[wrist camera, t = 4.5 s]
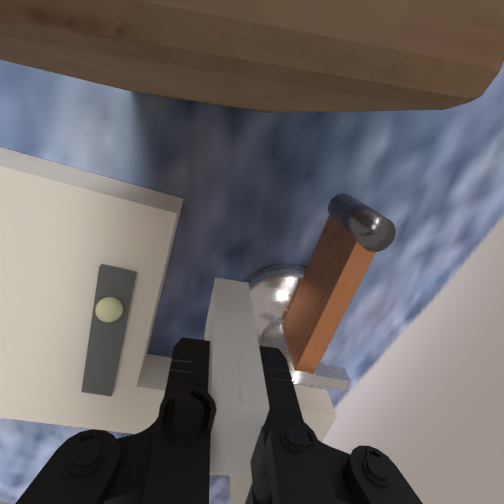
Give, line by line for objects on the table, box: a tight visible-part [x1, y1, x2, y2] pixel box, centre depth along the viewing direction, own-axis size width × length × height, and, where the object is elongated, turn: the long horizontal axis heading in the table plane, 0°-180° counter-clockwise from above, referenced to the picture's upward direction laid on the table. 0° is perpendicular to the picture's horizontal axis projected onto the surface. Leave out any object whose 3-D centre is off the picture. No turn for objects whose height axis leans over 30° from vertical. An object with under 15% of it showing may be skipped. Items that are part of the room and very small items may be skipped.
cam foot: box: [245, 193, 395, 391], centre depth 24 cm, size 18×10×9 cm, turn 162°
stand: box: [0, 147, 337, 504], centre depth 23 cm, size 22×33×12 cm, turn 72°
